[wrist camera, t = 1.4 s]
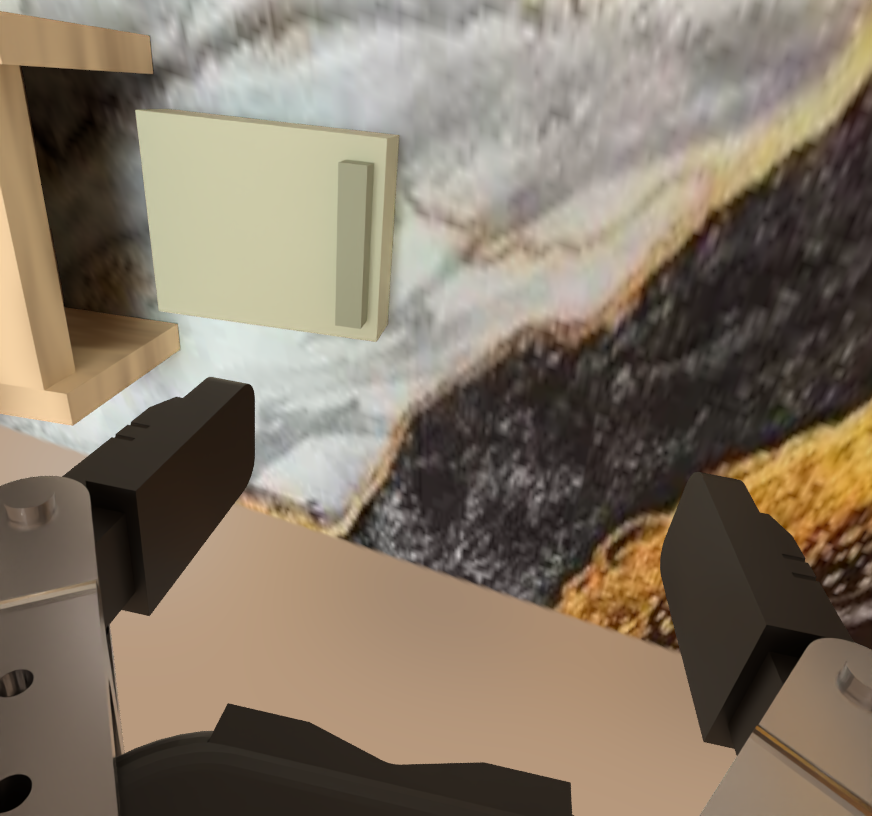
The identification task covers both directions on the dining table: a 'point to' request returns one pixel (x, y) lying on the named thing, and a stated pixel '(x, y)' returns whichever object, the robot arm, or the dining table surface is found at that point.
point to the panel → (270, 221)
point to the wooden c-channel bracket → (35, 254)
